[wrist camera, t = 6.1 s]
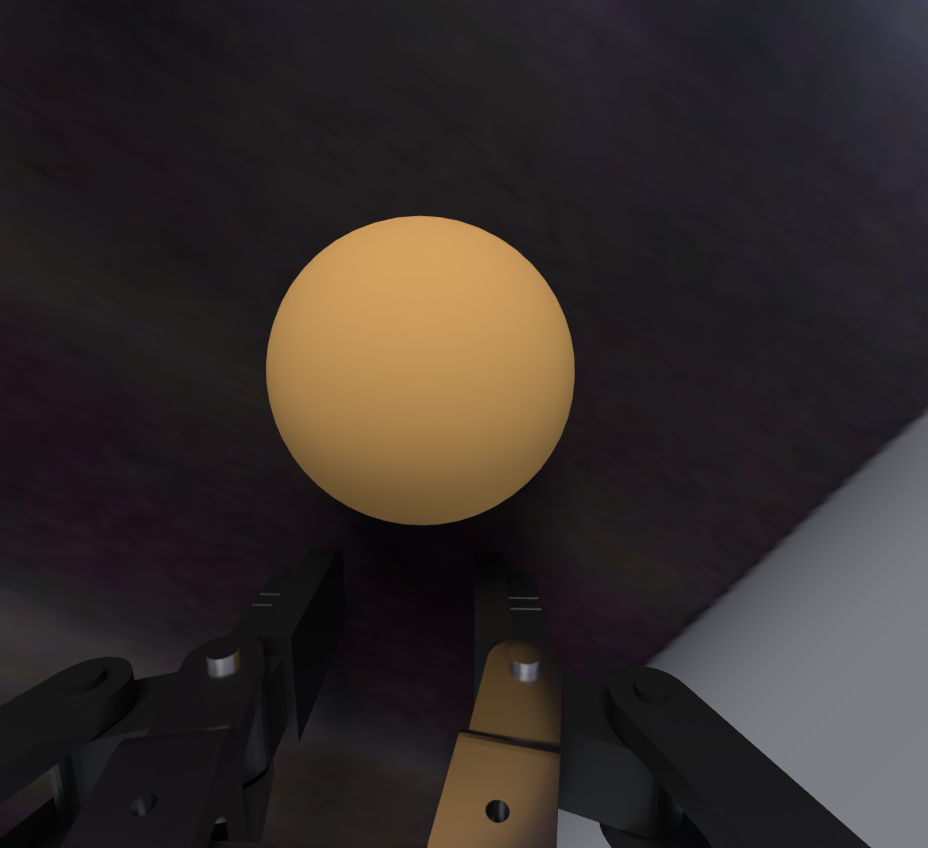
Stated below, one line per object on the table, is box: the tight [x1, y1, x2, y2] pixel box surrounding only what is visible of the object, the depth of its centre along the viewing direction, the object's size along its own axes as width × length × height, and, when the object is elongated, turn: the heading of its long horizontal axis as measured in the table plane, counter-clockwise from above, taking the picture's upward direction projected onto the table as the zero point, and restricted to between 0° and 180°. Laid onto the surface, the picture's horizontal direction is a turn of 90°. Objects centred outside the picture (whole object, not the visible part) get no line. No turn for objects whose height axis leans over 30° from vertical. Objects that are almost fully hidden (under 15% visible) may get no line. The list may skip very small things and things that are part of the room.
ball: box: [266, 216, 575, 525], centre depth 10 cm, size 6×6×6 cm
